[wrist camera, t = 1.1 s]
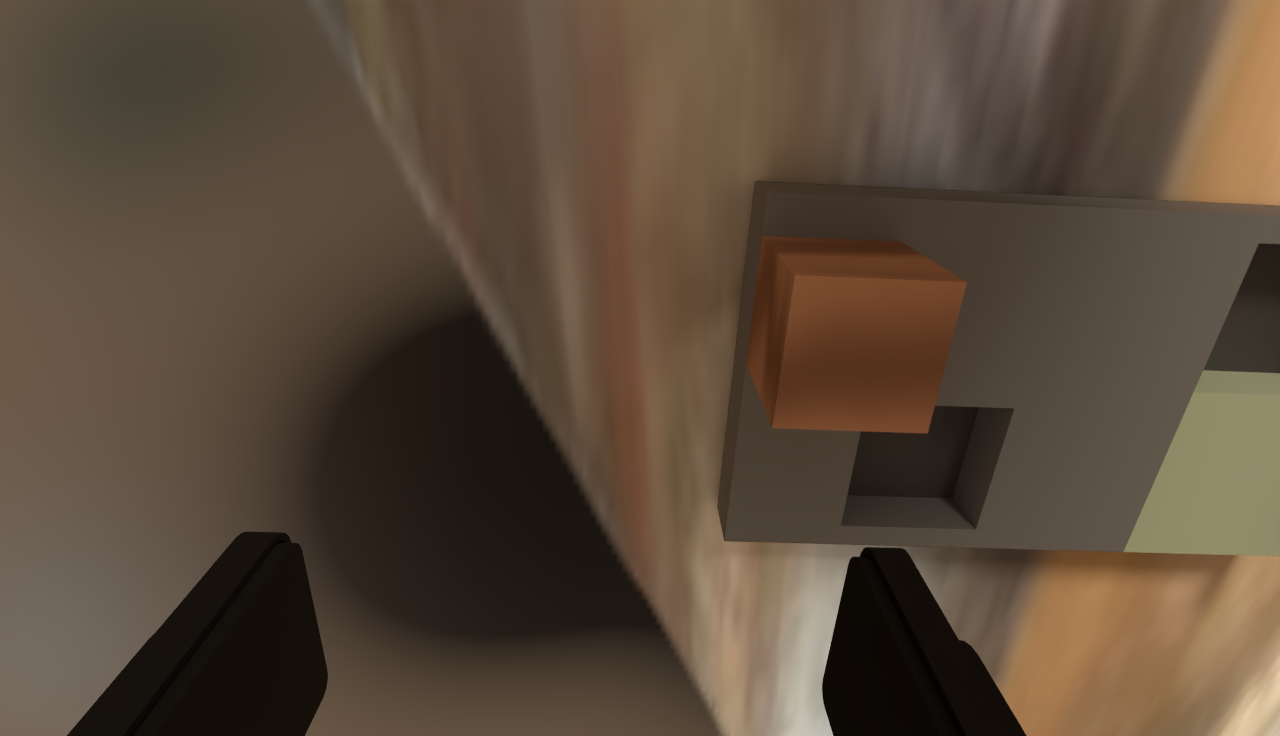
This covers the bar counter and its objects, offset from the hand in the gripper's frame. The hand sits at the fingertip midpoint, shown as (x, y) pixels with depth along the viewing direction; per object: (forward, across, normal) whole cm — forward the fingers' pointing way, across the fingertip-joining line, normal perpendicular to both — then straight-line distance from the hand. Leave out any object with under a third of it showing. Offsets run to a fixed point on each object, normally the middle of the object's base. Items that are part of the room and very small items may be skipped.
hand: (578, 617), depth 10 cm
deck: (+18, -18, +4) cm, 26 cm away
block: (+15, -8, 0) cm, 17 cm away
